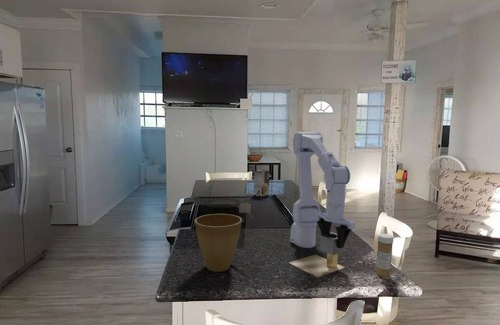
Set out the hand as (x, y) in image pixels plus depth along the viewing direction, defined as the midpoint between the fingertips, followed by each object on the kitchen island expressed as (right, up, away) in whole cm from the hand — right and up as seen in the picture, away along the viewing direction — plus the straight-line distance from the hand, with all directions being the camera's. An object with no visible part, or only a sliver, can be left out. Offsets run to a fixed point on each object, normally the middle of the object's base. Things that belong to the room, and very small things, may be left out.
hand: (333, 244), depth 114 cm
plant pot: (-38, -8, 0) cm, 38 cm away
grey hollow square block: (0, -2, 0) cm, 2 cm away
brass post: (0, -8, +1) cm, 8 cm away
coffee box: (-20, +5, +113) cm, 115 cm away
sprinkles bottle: (+15, -9, -3) cm, 18 cm away
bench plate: (-5, -8, +2) cm, 10 cm away
